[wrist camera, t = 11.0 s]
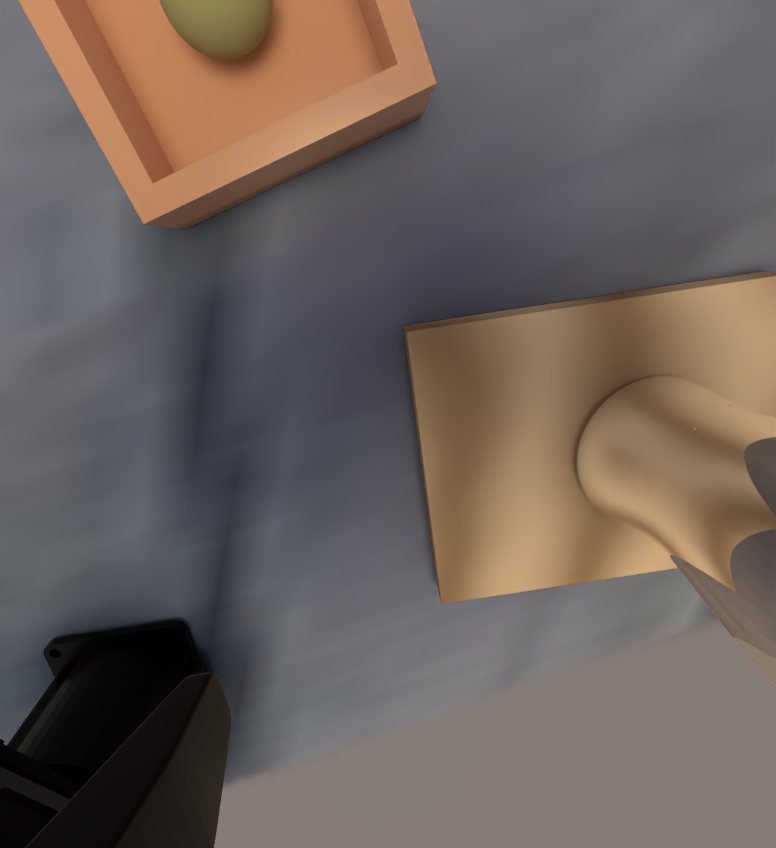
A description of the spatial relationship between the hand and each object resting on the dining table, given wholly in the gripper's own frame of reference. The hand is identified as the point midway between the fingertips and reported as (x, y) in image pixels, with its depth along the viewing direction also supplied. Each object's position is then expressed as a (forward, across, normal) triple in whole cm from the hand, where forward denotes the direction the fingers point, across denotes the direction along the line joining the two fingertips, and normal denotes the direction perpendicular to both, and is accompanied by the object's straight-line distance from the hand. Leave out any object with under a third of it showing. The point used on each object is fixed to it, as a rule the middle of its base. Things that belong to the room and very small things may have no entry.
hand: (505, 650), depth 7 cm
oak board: (+13, -7, +3) cm, 15 cm away
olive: (+11, +4, -13) cm, 17 cm away
